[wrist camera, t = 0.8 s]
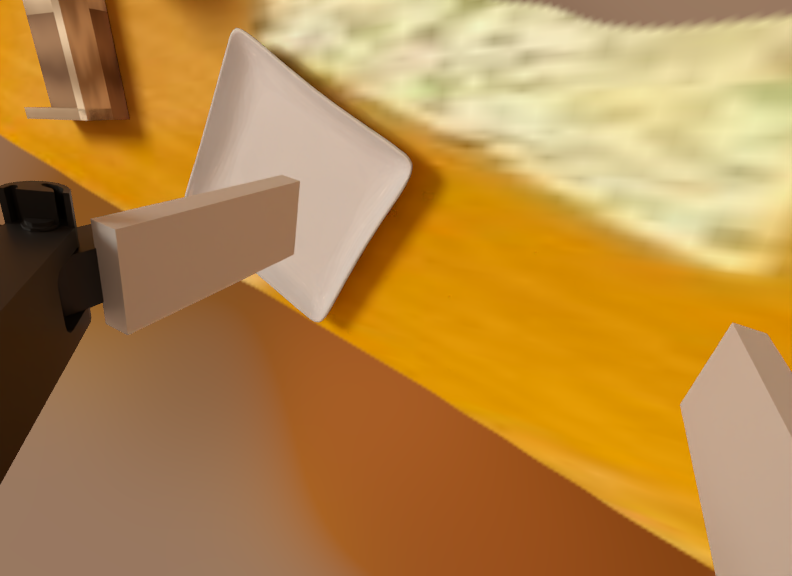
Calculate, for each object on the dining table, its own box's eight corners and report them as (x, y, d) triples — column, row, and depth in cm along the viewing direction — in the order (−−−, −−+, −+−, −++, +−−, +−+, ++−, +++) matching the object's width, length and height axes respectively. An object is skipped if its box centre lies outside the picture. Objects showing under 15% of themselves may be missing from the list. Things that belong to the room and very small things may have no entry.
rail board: (9, -123, 48) (-50, -145, 43) (74, -143, 43) (16, -170, 39) (70, 117, 57) (27, 118, 53) (129, 119, 53) (87, 120, 49)
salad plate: (334, 316, 51) (317, 329, 48) (201, 204, 53) (177, 210, 50) (431, 159, 40) (417, 163, 37) (257, 27, 42) (231, 21, 39)
